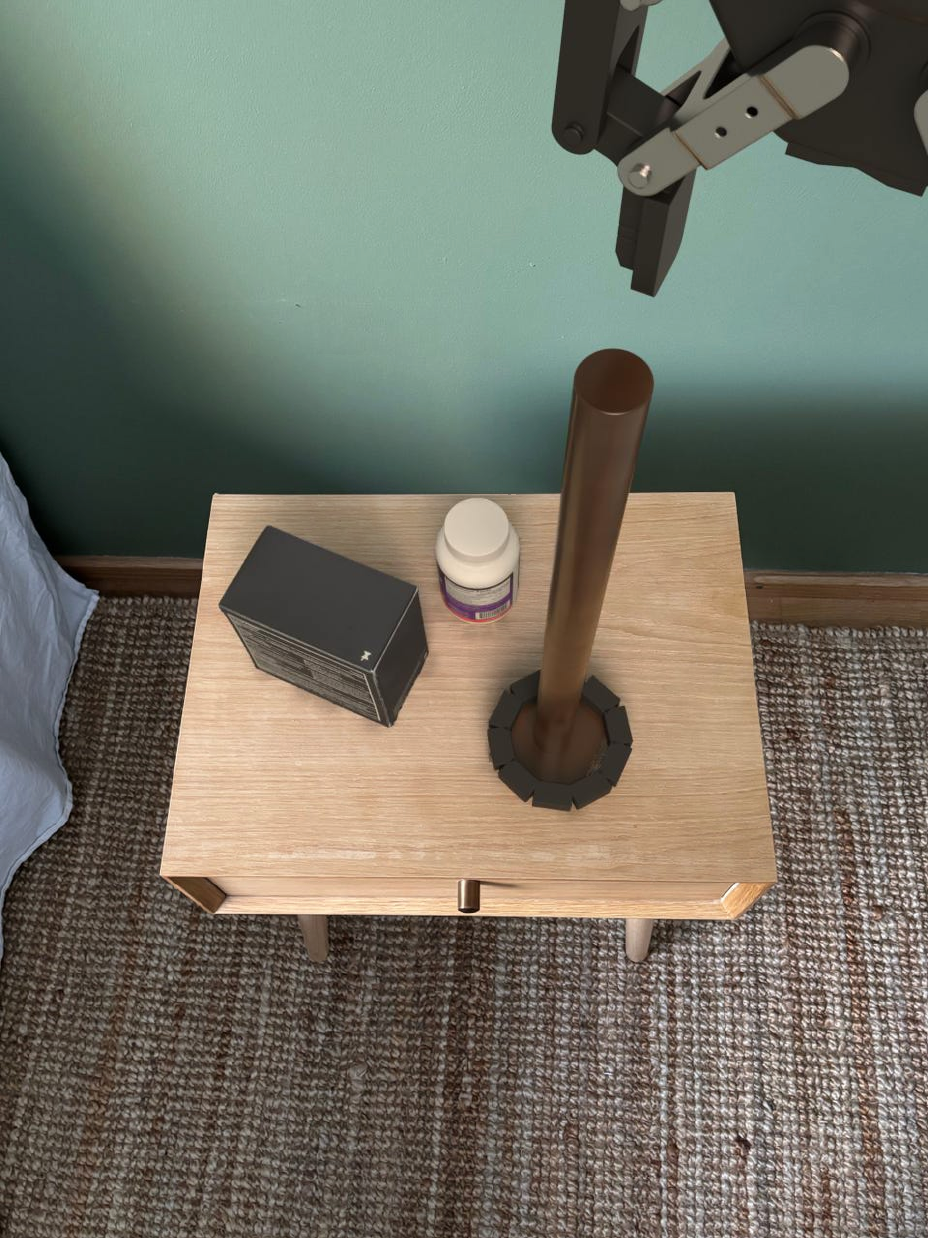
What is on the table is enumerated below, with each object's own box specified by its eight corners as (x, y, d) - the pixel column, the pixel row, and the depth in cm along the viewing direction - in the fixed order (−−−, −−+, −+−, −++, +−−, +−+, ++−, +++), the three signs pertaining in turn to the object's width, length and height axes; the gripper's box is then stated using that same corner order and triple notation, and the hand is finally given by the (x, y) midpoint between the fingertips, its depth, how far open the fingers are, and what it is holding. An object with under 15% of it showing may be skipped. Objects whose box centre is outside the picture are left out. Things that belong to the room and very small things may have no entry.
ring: (650, 708, 66) (653, 702, 65) (593, 836, 63) (595, 831, 62) (526, 652, 68) (526, 645, 67) (465, 774, 65) (464, 768, 64)
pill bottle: (456, 546, 73) (451, 475, 64) (529, 569, 72) (533, 501, 63) (428, 612, 71) (418, 549, 62) (502, 637, 70) (503, 577, 61)
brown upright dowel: (612, 721, 68) (745, 341, 31) (573, 802, 66) (668, 498, 29) (529, 682, 69) (565, 273, 32) (489, 761, 67) (478, 419, 30)
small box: (434, 647, 70) (424, 582, 60) (392, 731, 68) (374, 679, 58) (298, 588, 72) (267, 517, 62) (252, 669, 70) (212, 608, 60)
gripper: (1731, -515, 14) (1092, 306, 28) (702, -663, 16) (613, 151, 31) (1700, -177, 11) (1019, 526, 26) (499, -422, 14) (507, 336, 29)
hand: (797, 321), depth 29 cm, fingers open, 8 cm apart
